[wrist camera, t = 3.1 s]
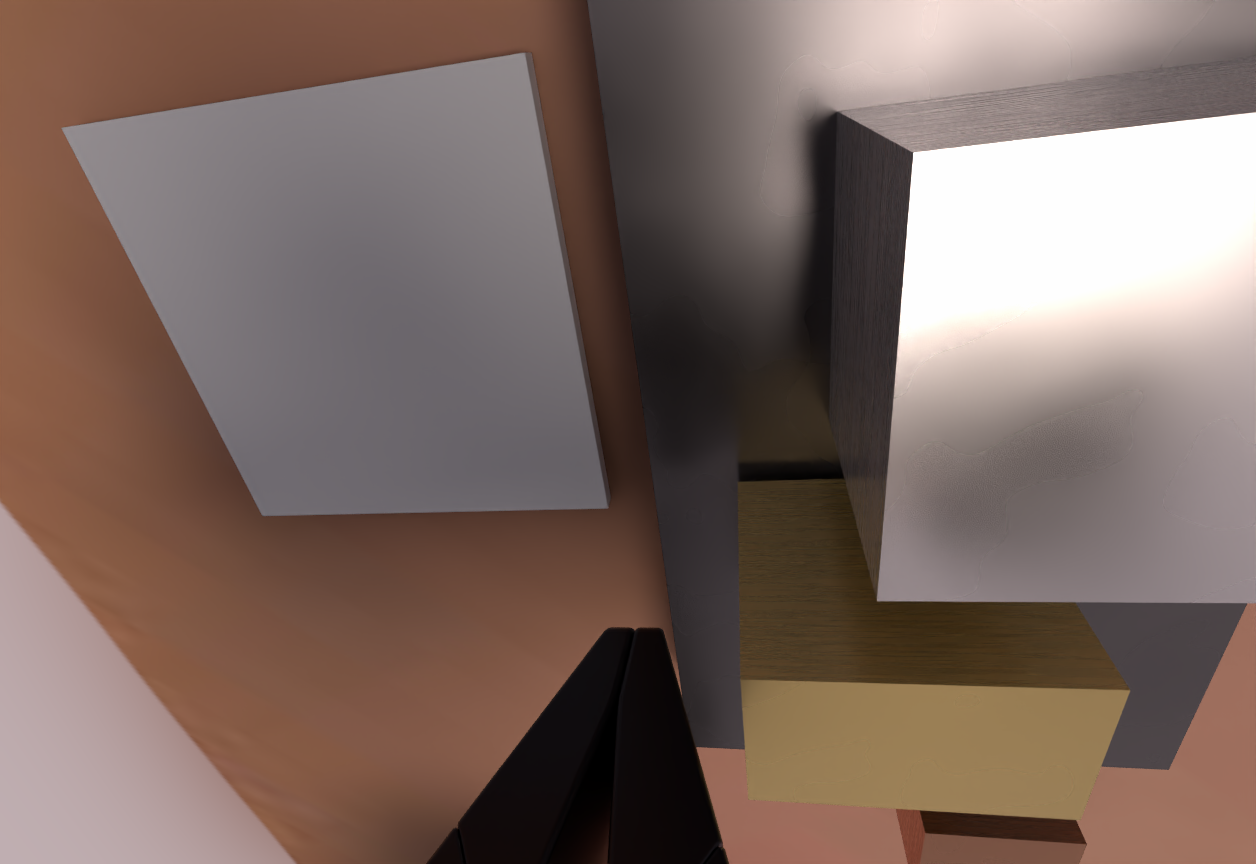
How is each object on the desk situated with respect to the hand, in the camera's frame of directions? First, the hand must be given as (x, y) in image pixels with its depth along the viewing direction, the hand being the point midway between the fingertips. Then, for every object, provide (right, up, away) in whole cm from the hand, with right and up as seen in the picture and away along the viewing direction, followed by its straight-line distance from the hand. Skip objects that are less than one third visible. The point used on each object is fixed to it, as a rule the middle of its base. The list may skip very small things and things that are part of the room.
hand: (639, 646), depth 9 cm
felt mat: (-6, +5, +4) cm, 9 cm away
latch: (+4, +1, +1) cm, 4 cm away
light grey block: (+5, +5, -1) cm, 8 cm away
